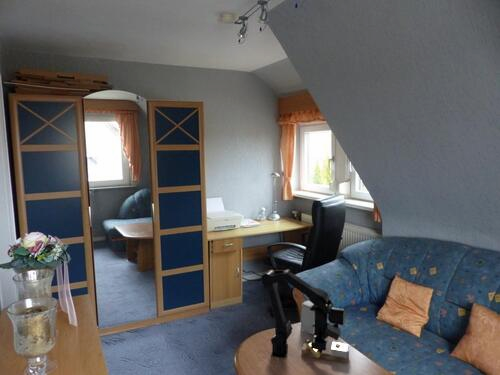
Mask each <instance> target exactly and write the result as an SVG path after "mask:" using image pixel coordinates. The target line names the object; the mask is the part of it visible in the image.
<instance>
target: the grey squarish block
mask: <svg viewBox="0 0 500 375" xmlns="http://www.w3.org/2000/svg"><path fill="white" fill-rule="evenodd" d="M331 344H332V347H331V355H333V356H338V357H344V358H347V355H348V351H349V344H348V343H342V342H336V341H332V343H331Z"/></svg>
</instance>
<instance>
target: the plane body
mask: <svg viewBox="0 0 500 375" xmlns="http://www.w3.org/2000/svg"><path fill="white" fill-rule="evenodd" d="M300 353H301V356H303V357H309V358H315V359H320V360H324V361H331V362H336V363H341V364H346V365H349V359H350V350H348V355H347V358H344V357H338V356H333V355H331V348H328V347H326V350H322V353H320V357H317V358H316V357H315V356H314V355H313V353H312V352H311V351H310V350H309V349H308V348H307V347H306V342H305V343H303V344H302V347H301V352H300Z"/></svg>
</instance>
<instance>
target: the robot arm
mask: <svg viewBox="0 0 500 375" xmlns="http://www.w3.org/2000/svg"><path fill="white" fill-rule="evenodd" d="M260 282H261V284H262V287H263V289H264V290H266V292H267V294H268V297H269V298H268V299H269V302H270V306H271V310H272V313H273V317H274V321H275V327H274V331H275V332H274V333H275V334H274V335H273V336H272V337H271V339H270V342H271V345H272V347H271V349H272V350H271V354H270V356H272V357H278V358H281V359H282V358H283V359H285V358H286V356H287V355H288V352H289V344H288V339H289V338H290V336H291V334H292V332H293V329H294V328H293V326H292V321H291V320H287V319H286V316H285V313H284V309H283V305H282V302H281V298H280V294H279V291H278V290H279V288H278V285H279V283H281V282H286V283H288V284H289V285H290V286H291V287H293V288H294V289H296V290H297V291H299V292H301V293H302V294H303V295H305V296H306V297H307V298H308V301H311V302H312V303H313V304H314V305H312V306H311V308H310V310H311V311H314V335H313V338H312V339H311V348H312V349H318V350H319V351H320V353H322V350H326V344H327V343H328V339H329V338H331V339H333V340H335V341H338V340H339V338H340V336H341V333H342V331H341V327H340V326H345V323H346V312H345V308H342V307H341V308H338V307H335V306H334V303H333V302H332V301H331V299H330V296H329V294H328V292H327V291H325V290H323V289H321V288H319V287H314V286H312V285H310V284H309V283H307V282H306V281H305V280H303V279H302V278H300V277H299V276H297V275H296V274H294V273H293V272H291V270H290V269H277V270H273V269H268V270H267V271H266V272H265V273H264V274H262V275H261V277H260ZM330 323H331V324H330ZM339 325H340V326H339Z"/></svg>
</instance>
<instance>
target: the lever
mask: <svg viewBox="0 0 500 375" xmlns="http://www.w3.org/2000/svg"><path fill="white" fill-rule="evenodd" d="M304 342H305V344H306V347H307V348H308V349H309V350H310V351H311V352H312V353H313V355H314V356H315V357H316V358H315V359H318V358H317V357H320V351H319V350H318V349H312V348H311V342H312V339H310V338H306V339H304Z"/></svg>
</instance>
